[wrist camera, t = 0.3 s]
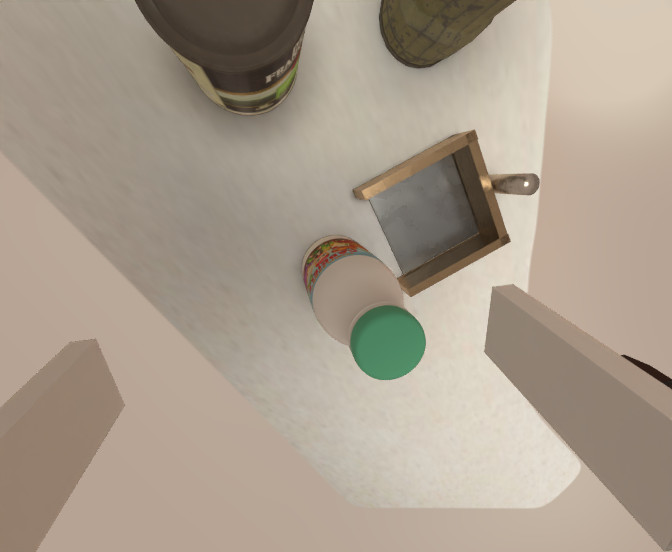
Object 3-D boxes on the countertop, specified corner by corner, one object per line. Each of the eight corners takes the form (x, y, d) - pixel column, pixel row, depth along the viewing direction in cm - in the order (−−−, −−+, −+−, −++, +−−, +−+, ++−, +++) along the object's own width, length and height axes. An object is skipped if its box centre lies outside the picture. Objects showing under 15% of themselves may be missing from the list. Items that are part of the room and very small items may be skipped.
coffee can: (315, 32, 32) (345, -74, 19) (272, 134, 34) (272, 105, 20) (209, -36, 29) (156, -219, 16) (169, 80, 31) (90, 4, 18)
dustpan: (398, 286, 41) (426, 310, 33) (352, 189, 37) (373, 192, 29) (503, 227, 41) (554, 238, 34) (470, 125, 37) (521, 111, 30)
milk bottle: (378, 256, 39) (475, 326, 20) (342, 308, 40) (404, 421, 22) (324, 221, 37) (378, 263, 18) (288, 278, 38) (303, 374, 19)
